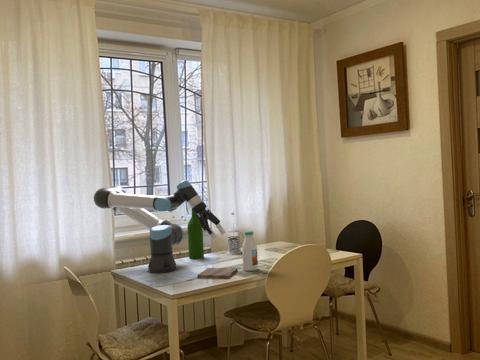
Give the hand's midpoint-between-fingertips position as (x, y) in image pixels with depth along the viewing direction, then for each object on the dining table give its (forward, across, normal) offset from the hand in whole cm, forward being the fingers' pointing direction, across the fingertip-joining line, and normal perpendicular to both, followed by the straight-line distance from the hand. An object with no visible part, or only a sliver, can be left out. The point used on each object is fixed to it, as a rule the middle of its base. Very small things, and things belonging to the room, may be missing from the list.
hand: (220, 236), depth 266 cm
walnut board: (+16, -22, +4) cm, 27 cm away
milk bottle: (+24, -9, -7) cm, 27 cm away
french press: (+12, +36, +13) cm, 40 cm away
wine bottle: (+1, +18, +28) cm, 34 cm away
